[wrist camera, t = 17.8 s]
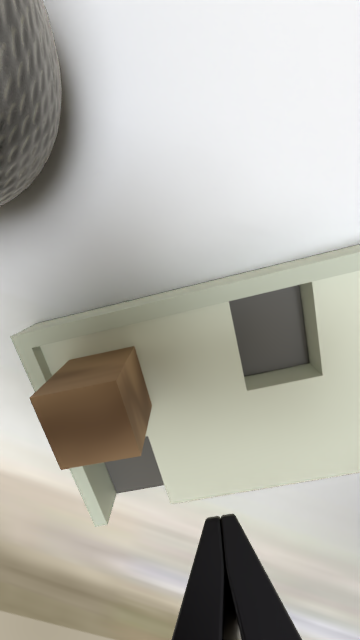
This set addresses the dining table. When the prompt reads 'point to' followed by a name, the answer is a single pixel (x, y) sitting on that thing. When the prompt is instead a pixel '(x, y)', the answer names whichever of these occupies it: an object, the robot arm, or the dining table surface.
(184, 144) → the dining table surface
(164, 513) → the dining table surface
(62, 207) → the dining table surface
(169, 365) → the trap tray
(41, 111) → the planter
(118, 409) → the block
